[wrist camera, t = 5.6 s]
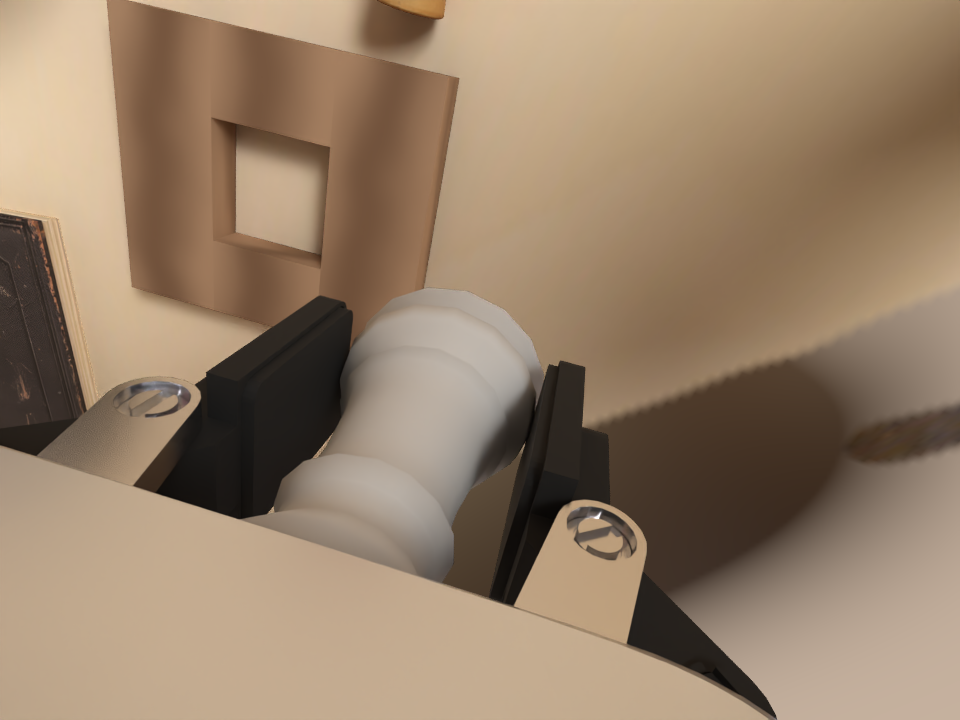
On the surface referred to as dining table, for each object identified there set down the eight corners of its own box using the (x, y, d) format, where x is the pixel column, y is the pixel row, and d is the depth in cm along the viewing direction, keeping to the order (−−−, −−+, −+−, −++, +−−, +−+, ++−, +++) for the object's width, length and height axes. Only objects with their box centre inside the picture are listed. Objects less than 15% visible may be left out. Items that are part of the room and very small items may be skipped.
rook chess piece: (376, 256, 12) (61, 471, 5) (571, 312, 12) (527, 628, 5) (353, 420, 14) (104, 738, 7) (518, 472, 14) (432, 861, 7)
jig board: (459, 78, 25) (448, 76, 23) (413, 348, 31) (402, 363, 29) (139, 3, 26) (106, -5, 24) (157, 277, 32) (132, 286, 31)
